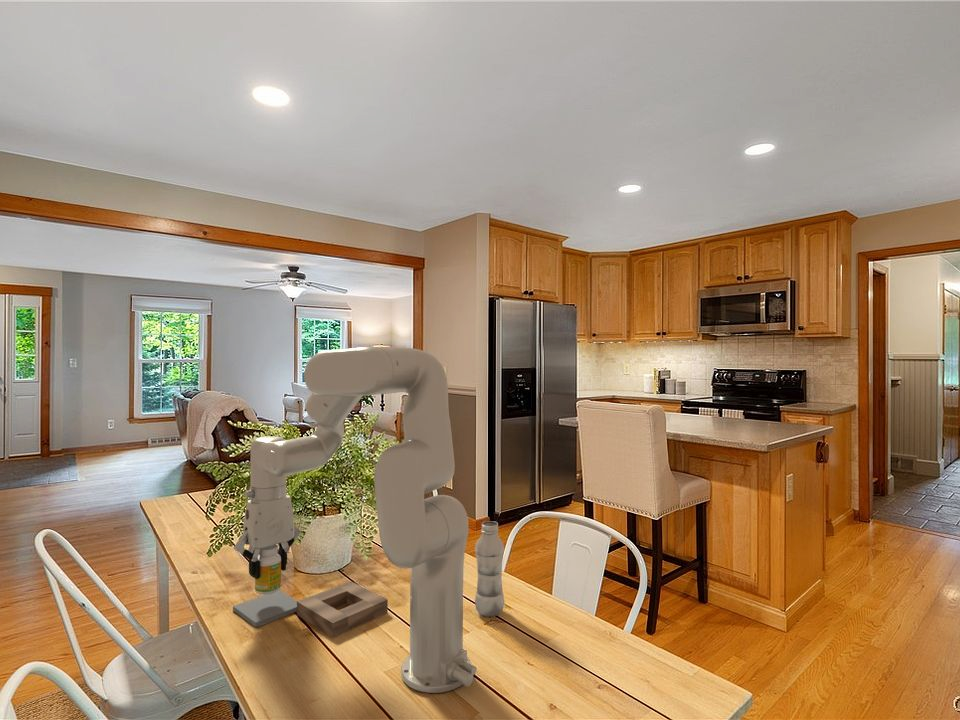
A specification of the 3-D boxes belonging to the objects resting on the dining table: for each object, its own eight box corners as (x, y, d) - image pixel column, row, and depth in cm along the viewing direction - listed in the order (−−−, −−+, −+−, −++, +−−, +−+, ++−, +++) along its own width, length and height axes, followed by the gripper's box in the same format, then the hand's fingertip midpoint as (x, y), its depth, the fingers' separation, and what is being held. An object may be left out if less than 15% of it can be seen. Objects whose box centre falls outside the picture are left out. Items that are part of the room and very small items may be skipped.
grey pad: (303, 608, 119) (303, 604, 119) (255, 627, 111) (255, 622, 111) (279, 594, 126) (279, 589, 126) (232, 610, 118) (232, 606, 118)
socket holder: (387, 612, 117) (387, 599, 117) (332, 637, 107) (332, 623, 107) (350, 593, 127) (350, 581, 127) (296, 615, 116) (296, 601, 116)
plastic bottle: (510, 612, 117) (511, 523, 117) (490, 624, 113) (490, 530, 112) (488, 603, 122) (489, 517, 122) (468, 613, 117) (468, 523, 117)
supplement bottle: (271, 596, 115) (272, 552, 115) (249, 593, 116) (250, 550, 116) (285, 585, 121) (286, 543, 120) (264, 583, 122) (264, 541, 121)
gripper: (237, 503, 109) (237, 590, 109) (312, 488, 122) (311, 566, 122) (222, 496, 114) (222, 580, 114) (295, 482, 127) (295, 557, 127)
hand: (268, 572), depth 118 cm, fingers closed on supplement bottle, 5 cm apart
